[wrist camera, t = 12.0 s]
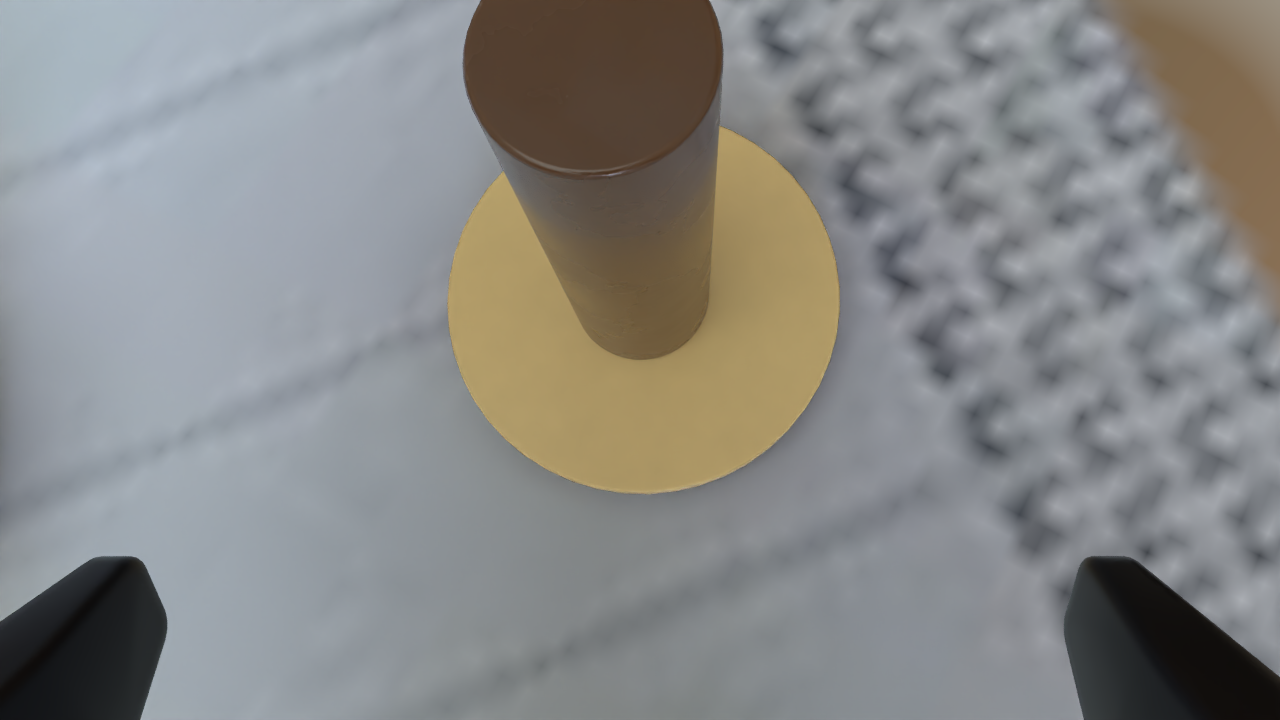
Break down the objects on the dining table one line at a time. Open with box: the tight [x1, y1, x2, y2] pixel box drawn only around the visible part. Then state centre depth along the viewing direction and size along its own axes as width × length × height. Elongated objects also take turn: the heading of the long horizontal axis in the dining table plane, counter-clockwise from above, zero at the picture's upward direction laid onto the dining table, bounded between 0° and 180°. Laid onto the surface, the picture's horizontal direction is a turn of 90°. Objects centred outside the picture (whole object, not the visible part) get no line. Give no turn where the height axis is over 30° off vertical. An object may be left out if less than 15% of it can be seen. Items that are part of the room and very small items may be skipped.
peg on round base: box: [447, 0, 840, 494], centre depth 15 cm, size 8×8×11 cm
